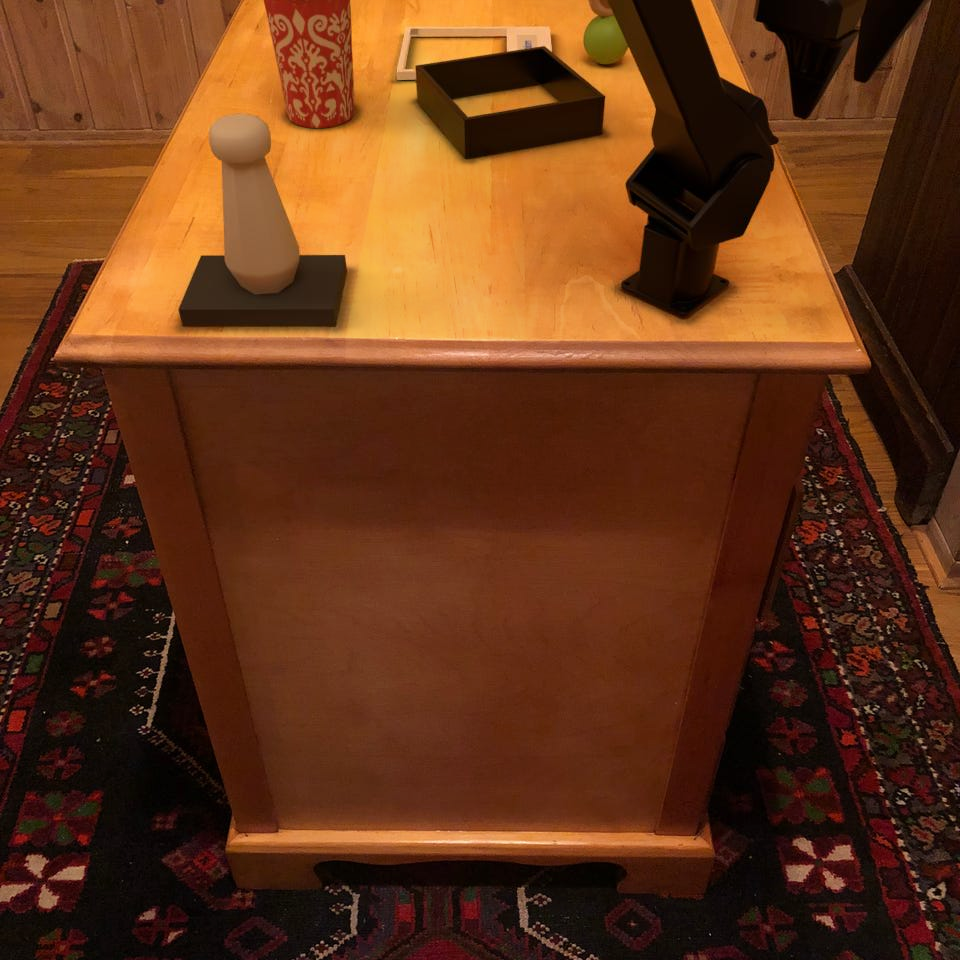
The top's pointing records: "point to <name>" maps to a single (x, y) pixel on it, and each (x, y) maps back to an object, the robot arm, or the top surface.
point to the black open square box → (518, 126)
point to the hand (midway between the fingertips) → (831, 98)
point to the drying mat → (265, 295)
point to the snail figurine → (604, 35)
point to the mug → (314, 59)
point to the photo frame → (515, 35)
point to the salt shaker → (252, 207)
